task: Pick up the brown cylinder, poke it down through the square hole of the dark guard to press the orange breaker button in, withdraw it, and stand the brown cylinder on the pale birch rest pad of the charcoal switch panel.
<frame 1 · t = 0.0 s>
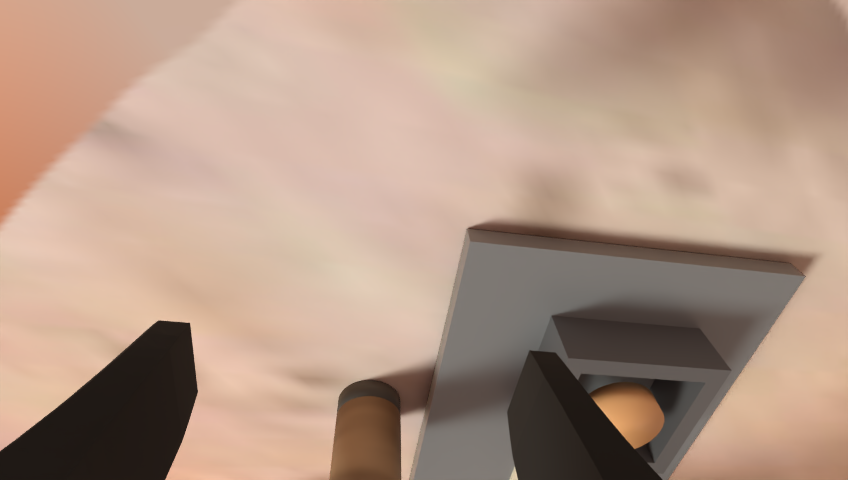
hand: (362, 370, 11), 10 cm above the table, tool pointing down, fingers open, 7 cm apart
brown cylinder: (369, 401, 26), on the table
breaker button: (619, 418, 23), point 3 cm above the table, slide at 0.0 cm
switch panel: (566, 401, 27), on the table
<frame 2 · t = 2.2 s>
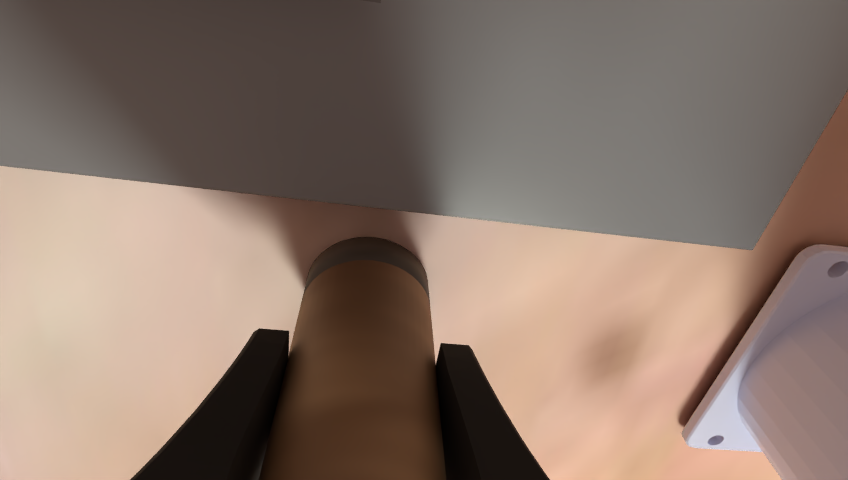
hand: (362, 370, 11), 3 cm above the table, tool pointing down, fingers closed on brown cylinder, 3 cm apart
brown cylinder: (368, 288, 13), on the table, touching gripper
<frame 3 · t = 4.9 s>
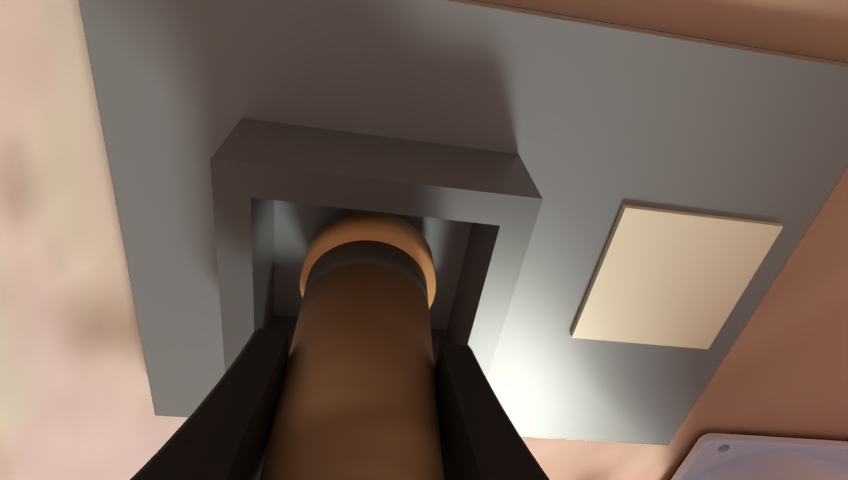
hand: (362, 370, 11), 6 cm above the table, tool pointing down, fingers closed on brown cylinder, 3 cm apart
brown cylinder: (367, 290, 14), point 3 cm above the table, touching breaker button, gripper
breaker button: (369, 277, 14), point 2 cm above the table, slide at 1.1 cm, touching brown cylinder
switch panel: (462, 256, 16), on the table
when the fingers open (5 cm above the table, at t = 7.9 s): brown cylinder drops 1 cm, resting on switch panel.
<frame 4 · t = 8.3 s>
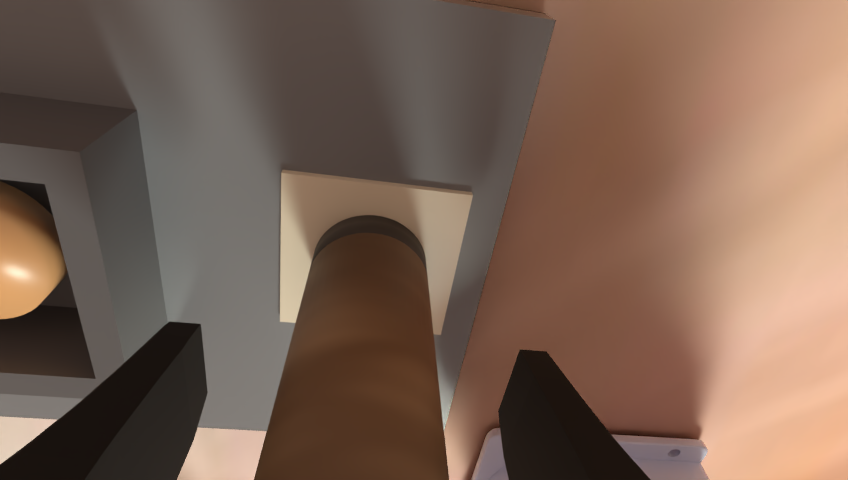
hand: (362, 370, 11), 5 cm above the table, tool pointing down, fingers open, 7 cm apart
brown cylinder: (369, 265, 14), point 1 cm above the table, touching switch panel
switch panel: (149, 231, 15), on the table
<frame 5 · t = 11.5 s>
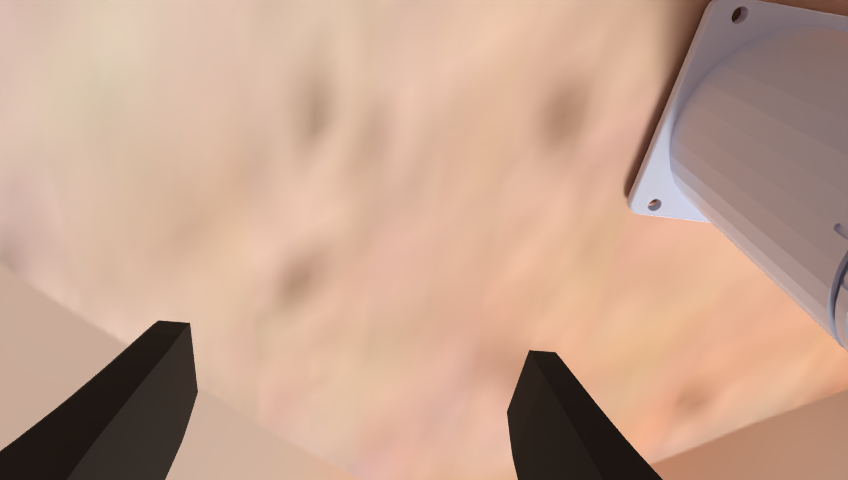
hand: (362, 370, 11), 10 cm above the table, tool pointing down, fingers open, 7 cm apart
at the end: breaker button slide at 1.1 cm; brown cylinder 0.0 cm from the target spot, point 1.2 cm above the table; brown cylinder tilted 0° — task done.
